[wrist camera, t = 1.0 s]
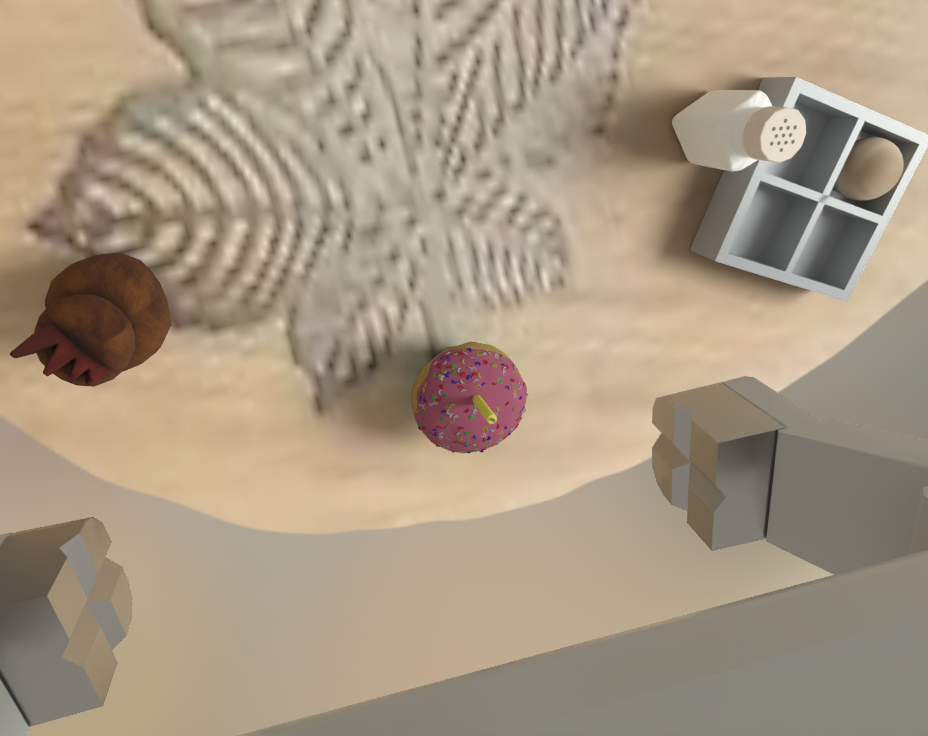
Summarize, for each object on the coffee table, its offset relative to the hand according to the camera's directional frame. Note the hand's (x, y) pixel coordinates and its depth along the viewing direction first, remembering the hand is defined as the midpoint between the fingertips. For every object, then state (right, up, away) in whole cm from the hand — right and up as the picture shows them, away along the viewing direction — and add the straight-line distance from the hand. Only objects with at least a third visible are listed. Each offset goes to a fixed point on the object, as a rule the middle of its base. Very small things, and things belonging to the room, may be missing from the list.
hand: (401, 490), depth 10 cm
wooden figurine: (-22, +7, +34) cm, 41 cm away
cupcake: (0, +1, +42) cm, 42 cm away
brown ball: (+31, +18, +41) cm, 55 cm away
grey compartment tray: (+27, +16, +42) cm, 52 cm away
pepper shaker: (+18, +20, +38) cm, 47 cm away
